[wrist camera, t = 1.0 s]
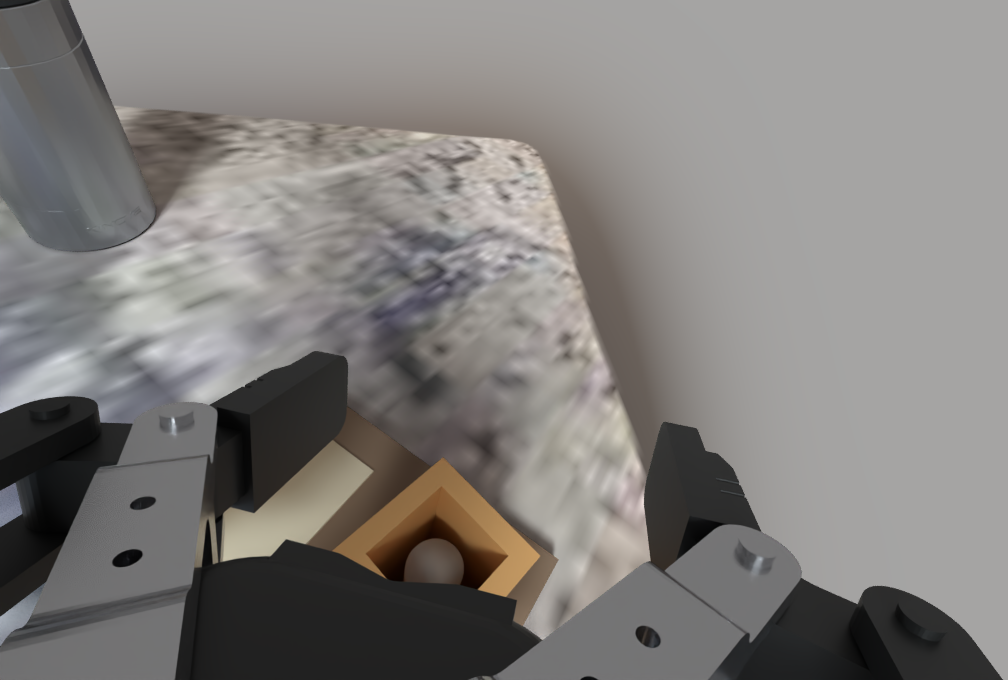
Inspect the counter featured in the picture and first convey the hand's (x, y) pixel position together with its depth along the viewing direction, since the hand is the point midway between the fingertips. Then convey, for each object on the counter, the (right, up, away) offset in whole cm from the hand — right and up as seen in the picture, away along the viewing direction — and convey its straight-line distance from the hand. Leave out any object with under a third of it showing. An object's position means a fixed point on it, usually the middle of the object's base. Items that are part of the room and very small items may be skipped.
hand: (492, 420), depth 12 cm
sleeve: (-4, -13, +15) cm, 20 cm away
